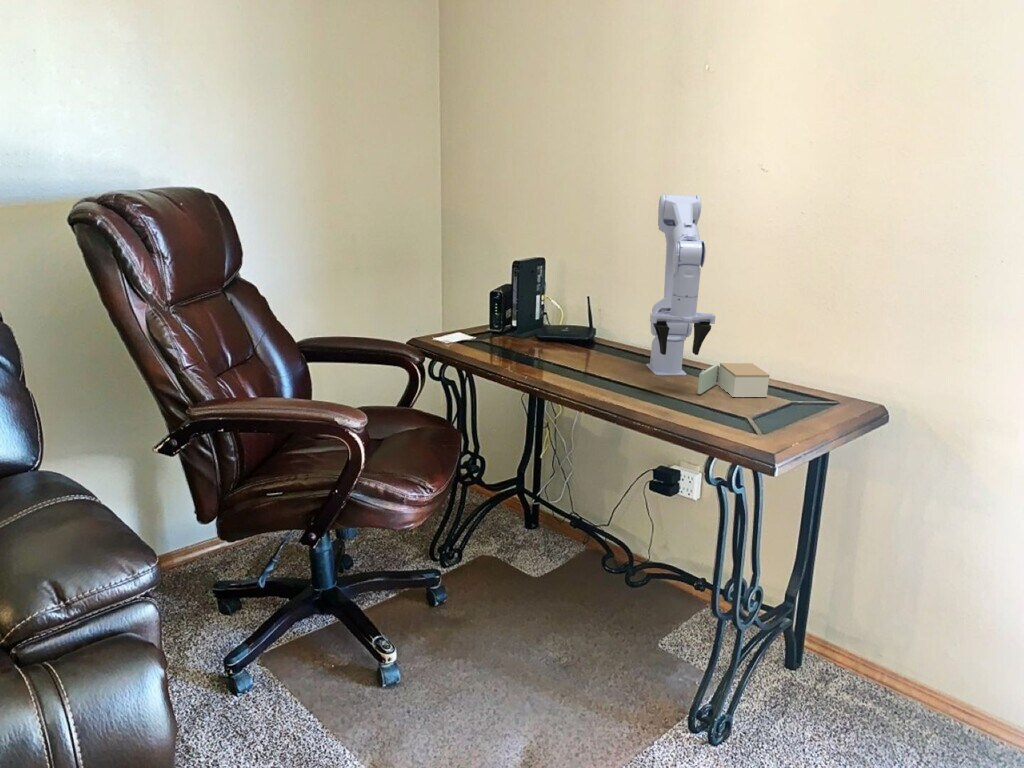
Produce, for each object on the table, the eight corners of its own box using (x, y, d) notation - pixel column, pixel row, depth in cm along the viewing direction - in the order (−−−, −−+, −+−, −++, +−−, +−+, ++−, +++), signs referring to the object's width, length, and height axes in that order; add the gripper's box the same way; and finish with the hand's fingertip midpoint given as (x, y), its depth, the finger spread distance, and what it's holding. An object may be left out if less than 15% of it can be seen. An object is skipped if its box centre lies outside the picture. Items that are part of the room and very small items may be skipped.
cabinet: (717, 385, 190) (720, 363, 189) (749, 385, 191) (752, 363, 190) (733, 398, 181) (735, 375, 179) (766, 398, 182) (769, 375, 180)
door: (713, 382, 191) (715, 363, 189) (717, 383, 190) (719, 364, 189) (696, 393, 182) (699, 373, 181) (701, 394, 181) (703, 374, 180)
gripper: (658, 298, 172) (653, 358, 176) (722, 298, 173) (715, 358, 177) (649, 292, 178) (644, 350, 182) (711, 292, 180) (705, 350, 184)
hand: (679, 353), depth 180 cm, fingers open, 7 cm apart
